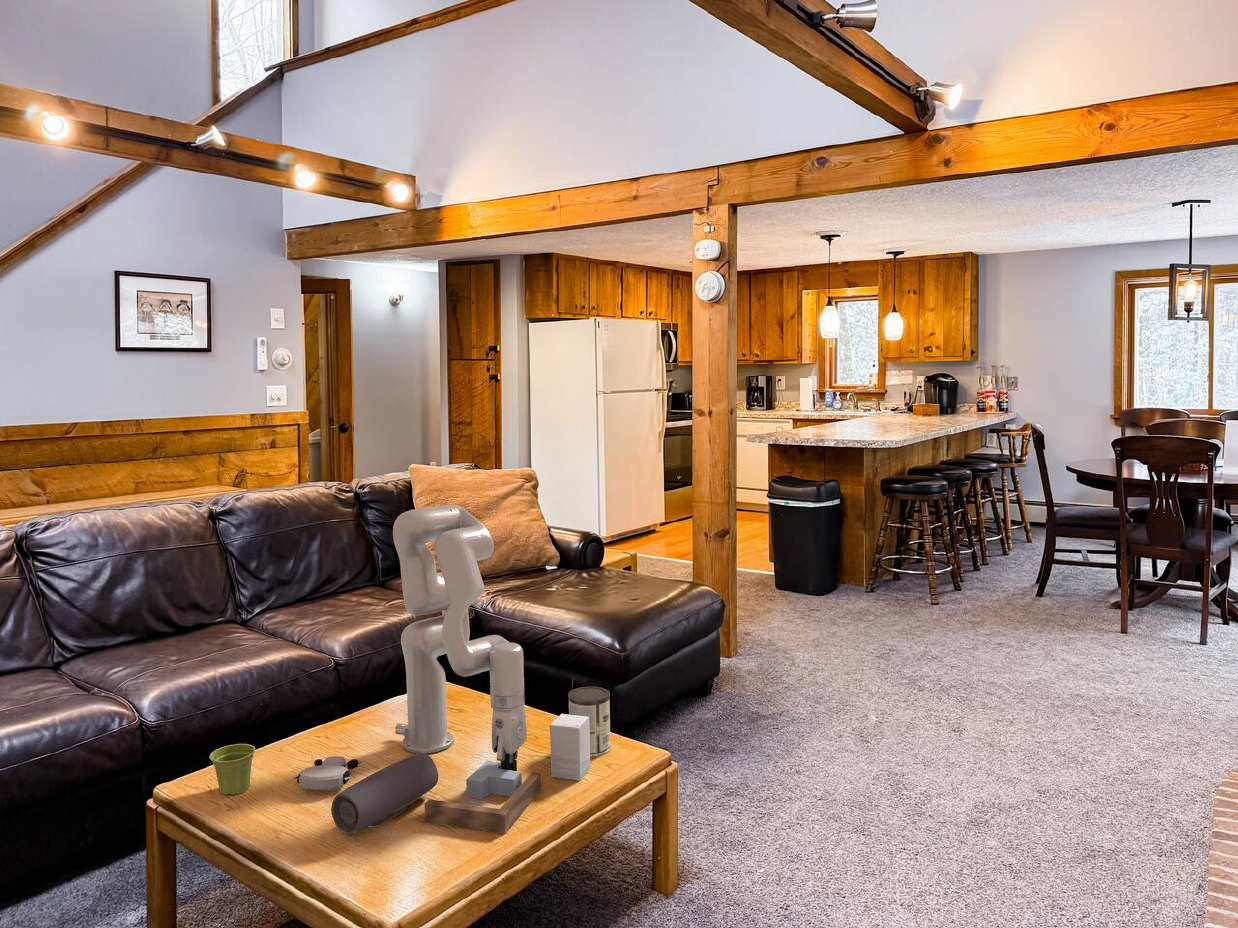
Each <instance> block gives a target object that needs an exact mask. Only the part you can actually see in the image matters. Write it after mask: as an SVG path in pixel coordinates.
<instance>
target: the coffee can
mask: <svg viewBox="0 0 1238 928" xmlns="http://www.w3.org/2000/svg"><path fill="white" fill-rule="evenodd" d="M610 697H611V693H610V690H609V689H606V688H603V687H601V686H582V687H580V686H579V687H577V688H573V689H572V690H570V691H569V692H568V694H567V698H568V715H577V716H586V717H589V723H590V758H594V757H600V756H603V755H605V754H608V753H609V752H610V750H611V718H610V717H611V714H610V713H611V711H610V709H611V707H610V705H611V703H610Z"/></svg>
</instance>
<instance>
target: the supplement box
mask: <svg viewBox="0 0 1238 928" xmlns="http://www.w3.org/2000/svg"><path fill="white" fill-rule="evenodd" d="M549 734H550V737H549V738H550V744H549V745H550V766H551V767H550V768H551V769H550V773H551V775H550V776H551V778H557V779H565V780H572V781H577V782H580V781H581V780H582V779H583V778H584V777H585V776H586V775H587V773H588V772H589V771H590V770H591V757H590V723H589V717H586V716H577V715H569V713H568V714H565V713H561V714H560V715H559V716H558V717H556V719H554V720H553V721H552V722H551V723H550V724H549Z"/></svg>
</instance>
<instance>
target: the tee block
mask: <svg viewBox="0 0 1238 928" xmlns="http://www.w3.org/2000/svg"><path fill="white" fill-rule="evenodd" d="M522 779H523V778H522V771H518V770H517V771H511V770H504V769H501V762H500V761H491V760H486V761H484V763H483V764H482V765H481V766H479V767H478V768H477V769H476V770H475V771H474V772H473V773H471V775H470V776H468V777H467V778H466V780H465V782H466V786H465V787H466V797H467V798H472V799H478V800H484V799H485V798H486V797H487V796H488V795H490V794H492V795H498V796H506V797H509V798H510V797H511V796H512V795H513V793H514V792H515V791H516V790H517V789H518V788H519V787H520V785H521V784H522V783H523V782H522V781H523V780H522Z"/></svg>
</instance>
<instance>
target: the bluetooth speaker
mask: <svg viewBox="0 0 1238 928" xmlns="http://www.w3.org/2000/svg"><path fill="white" fill-rule="evenodd" d="M438 781H439V772H438V767H437V765H436V764H435V762H434V759H433V758H432V757H431V756H430V754H428V753H413V754H411V755H409V756H407V757H404V758H402V759H400V760H397V761H396V762H394V763H392V764H389V765H388V766H385V767H384V768H383V767H382V768H381V769H379V770H377V771H375V772H373V773H371V774H370V775H368V776H366V777H364V778H362V779H361V780H359V781H357V782H355V783H354V784H352V785H350V786H348V787H347V788H345V789H344V790H342V791H341V792H339V793H338V794H336V795H335V796H334V798H333V800H332V803H331V809H330V811H331V817H332V820H333V822H334V824H335V826H336V827H337V828H338V829H339V830H340V831H341V832H343V833H345V834H347V835H353V834H355V833H359V832H360V831H363V830H365V829H367V828H369V827H371V828H375V827H378V826H380V825H382V824H384V823H386V822H388V821H390V820H392V819H393V818H395V817H397V816H398V815H400V814H402V813H403V812H404V811H406V810H407V809H408V808H409V805H410V804H412V803H414V802H415V801H418V799H420V798H421V797H423V796H424V795H426V794H427V793H429V792H430V791H431V790H432V789H433V788H435V786H436V785H437V784H438Z"/></svg>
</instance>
